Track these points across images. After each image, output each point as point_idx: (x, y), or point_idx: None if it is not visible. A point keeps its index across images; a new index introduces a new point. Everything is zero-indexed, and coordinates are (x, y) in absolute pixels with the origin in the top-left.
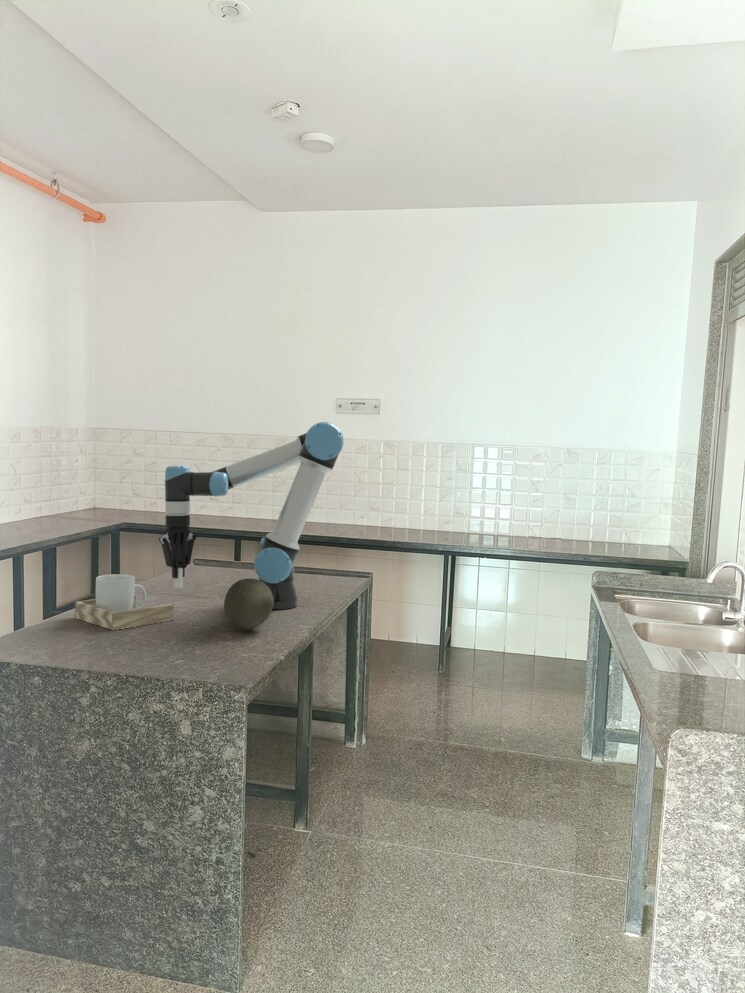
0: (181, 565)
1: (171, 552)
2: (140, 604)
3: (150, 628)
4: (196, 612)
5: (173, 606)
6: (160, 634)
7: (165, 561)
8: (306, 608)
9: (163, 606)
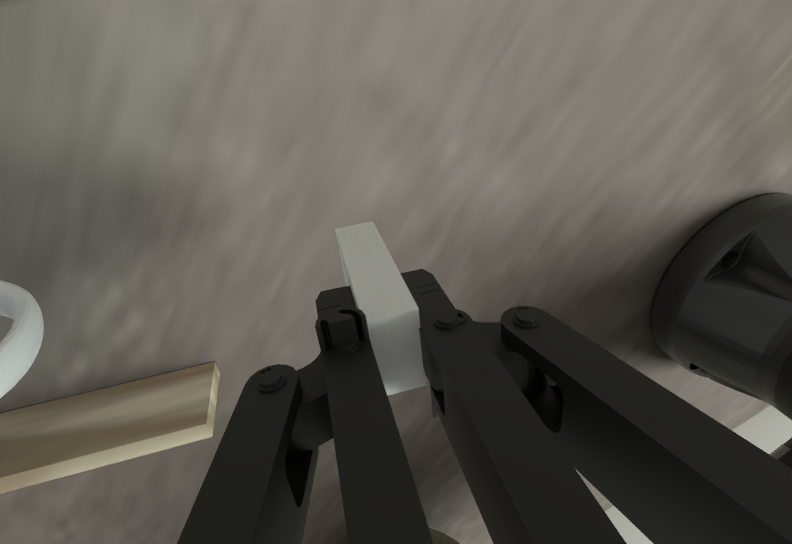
0: (431, 385)
1: (348, 531)
2: (10, 312)
3: None
4: (399, 269)
5: (212, 426)
6: (85, 540)
7: (226, 428)
8: None
9: (139, 453)
